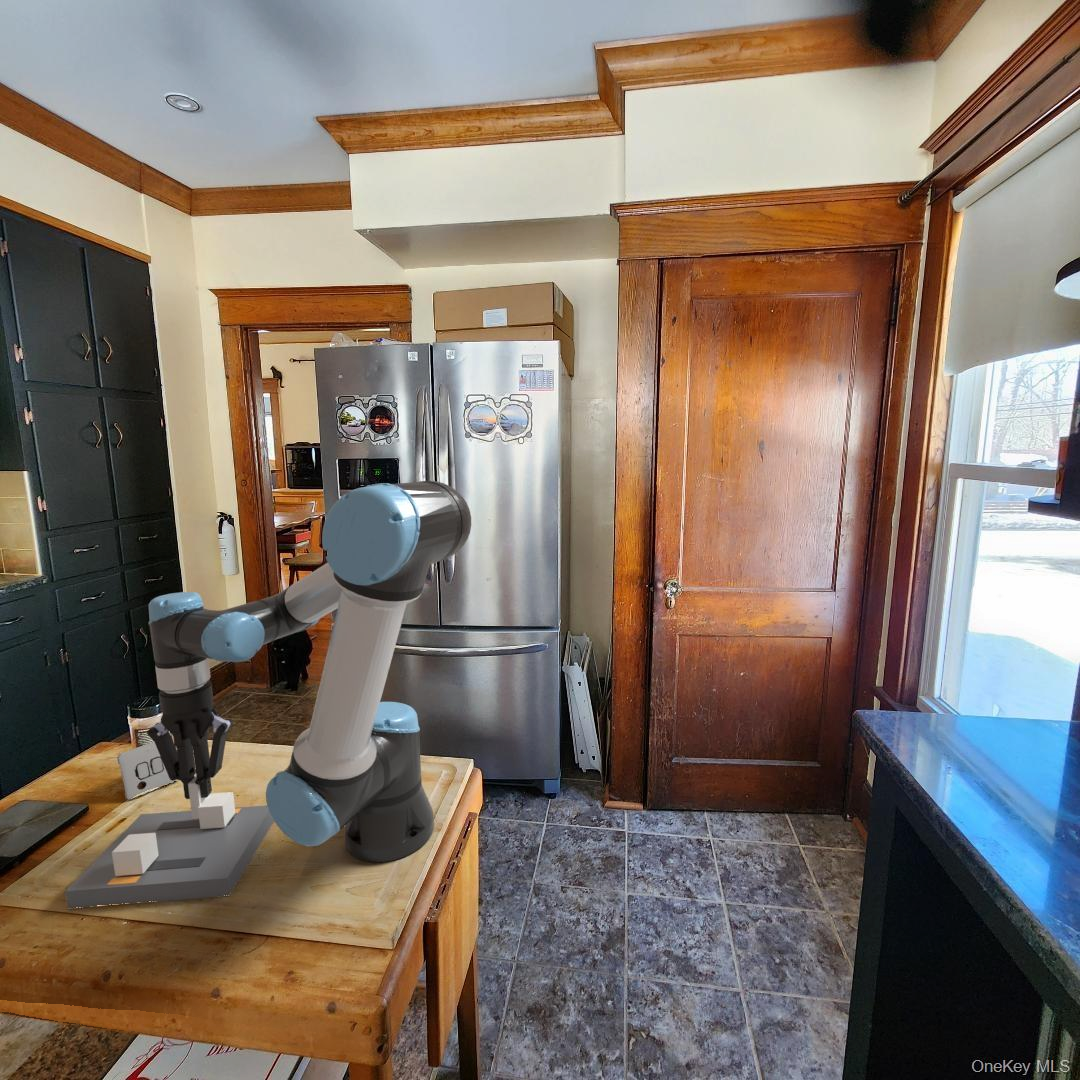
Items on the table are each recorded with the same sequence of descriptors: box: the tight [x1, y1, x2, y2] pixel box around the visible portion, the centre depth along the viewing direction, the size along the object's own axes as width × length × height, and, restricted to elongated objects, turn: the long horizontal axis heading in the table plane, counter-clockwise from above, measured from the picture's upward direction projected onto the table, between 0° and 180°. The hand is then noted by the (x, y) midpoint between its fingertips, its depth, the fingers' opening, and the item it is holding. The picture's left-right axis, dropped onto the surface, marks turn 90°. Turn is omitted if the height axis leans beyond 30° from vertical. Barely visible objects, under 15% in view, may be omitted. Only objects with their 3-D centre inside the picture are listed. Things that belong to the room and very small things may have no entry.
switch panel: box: [64, 804, 275, 909], centre depth 92 cm, size 23×18×3 cm
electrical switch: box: [116, 741, 177, 801], centre depth 113 cm, size 9×5×9 cm, turn 141°
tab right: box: [198, 791, 236, 829], centre depth 97 cm, size 4×4×4 cm
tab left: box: [112, 833, 159, 876], centre depth 86 cm, size 4×4×4 cm
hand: (200, 813), depth 96 cm, fingers closed
